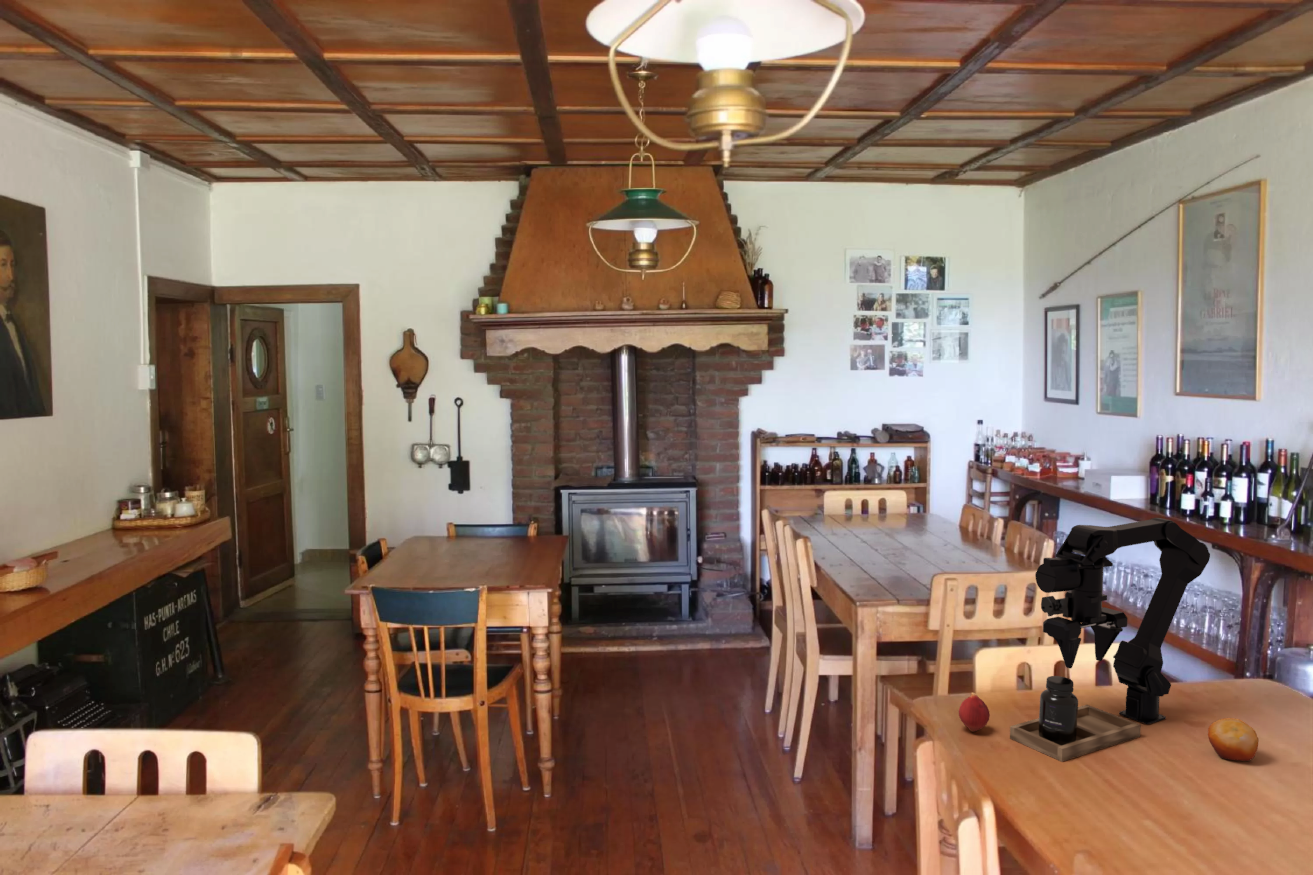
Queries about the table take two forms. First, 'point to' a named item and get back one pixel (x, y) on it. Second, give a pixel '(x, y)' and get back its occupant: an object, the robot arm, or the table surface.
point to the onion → (974, 713)
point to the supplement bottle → (1058, 711)
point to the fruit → (1233, 739)
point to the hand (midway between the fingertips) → (1083, 664)
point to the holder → (1079, 734)
